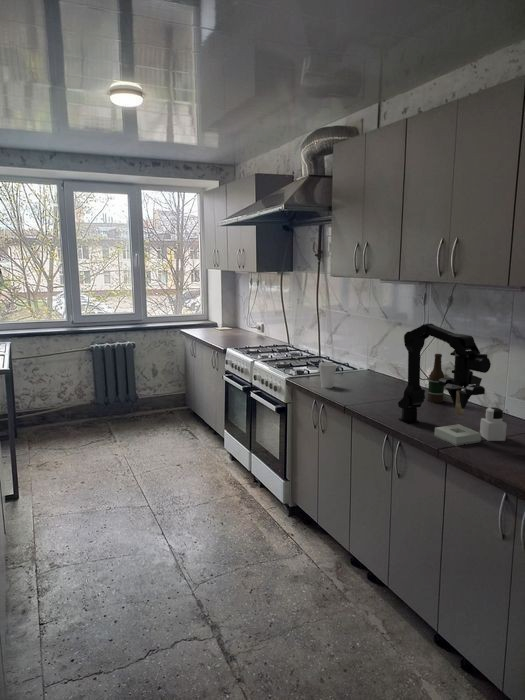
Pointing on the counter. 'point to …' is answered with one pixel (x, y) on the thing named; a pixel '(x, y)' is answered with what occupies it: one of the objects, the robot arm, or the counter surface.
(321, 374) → the foam cup
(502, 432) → the medicine bottle
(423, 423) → the counter surface
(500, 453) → the counter surface
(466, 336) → the robot arm
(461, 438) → the bore block
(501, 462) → the counter surface
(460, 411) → the dowel
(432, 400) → the beer bottle
